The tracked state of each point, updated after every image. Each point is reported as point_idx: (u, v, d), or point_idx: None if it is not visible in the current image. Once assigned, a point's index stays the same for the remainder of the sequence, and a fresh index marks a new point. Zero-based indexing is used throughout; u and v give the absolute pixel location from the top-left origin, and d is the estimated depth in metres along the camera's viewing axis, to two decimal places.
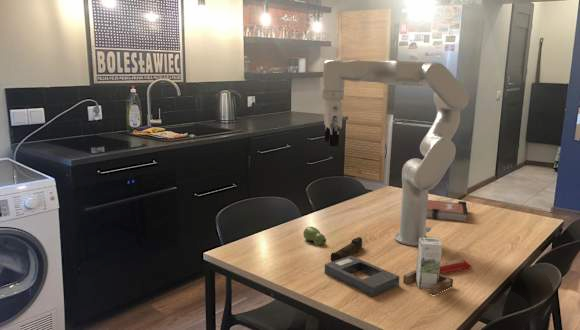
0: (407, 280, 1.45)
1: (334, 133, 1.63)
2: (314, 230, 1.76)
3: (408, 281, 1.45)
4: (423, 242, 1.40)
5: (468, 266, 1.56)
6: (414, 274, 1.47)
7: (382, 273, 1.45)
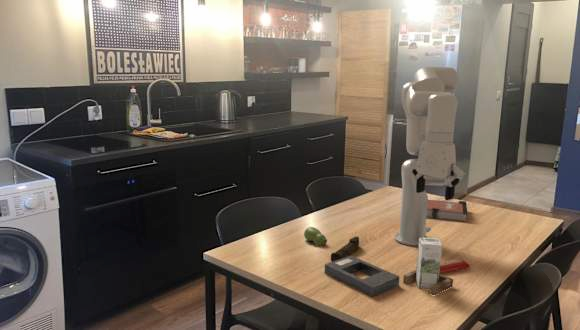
0: (407, 280, 1.45)
1: None
2: (315, 230, 1.76)
3: (408, 281, 1.45)
4: (423, 242, 1.40)
5: (467, 266, 1.56)
6: (414, 274, 1.47)
7: (382, 273, 1.45)
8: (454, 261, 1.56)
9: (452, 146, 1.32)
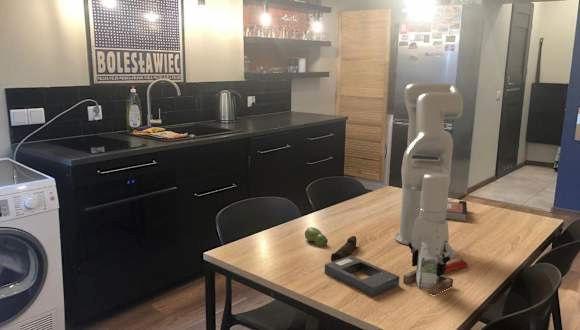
0: (407, 280, 1.45)
1: None
2: (315, 231, 1.75)
3: (408, 281, 1.45)
4: (423, 242, 1.40)
5: (465, 264, 1.57)
6: (414, 274, 1.47)
7: (382, 273, 1.45)
8: (453, 260, 1.56)
9: (445, 224, 1.36)
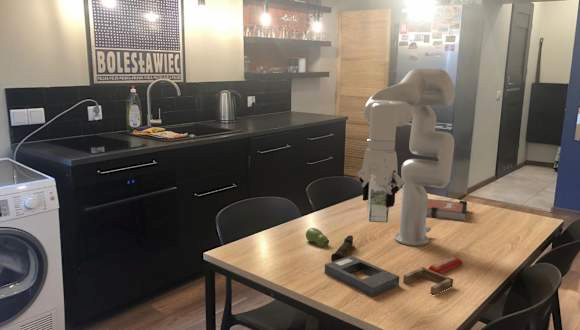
0: (407, 280, 1.45)
1: None
2: (317, 231, 1.75)
3: (408, 281, 1.45)
4: None
5: (461, 262, 1.59)
6: (414, 274, 1.47)
7: (382, 273, 1.45)
8: (450, 259, 1.57)
9: (393, 154, 1.35)
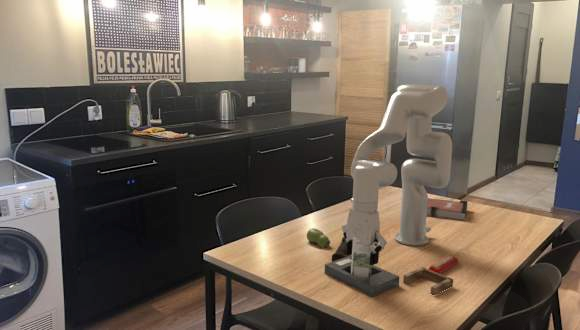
0: (407, 280, 1.45)
1: None
2: (318, 232, 1.74)
3: (408, 281, 1.45)
4: (355, 237, 1.43)
5: (457, 261, 1.60)
6: (414, 274, 1.47)
7: (382, 273, 1.45)
8: (447, 258, 1.58)
9: (375, 215, 1.39)
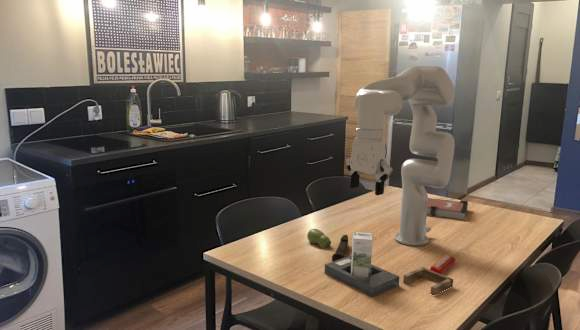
0: (407, 280, 1.45)
1: None
2: (318, 232, 1.74)
3: (408, 281, 1.45)
4: (355, 237, 1.43)
5: (454, 260, 1.61)
6: (414, 274, 1.47)
7: (382, 273, 1.45)
8: (445, 258, 1.58)
9: (381, 142, 1.35)
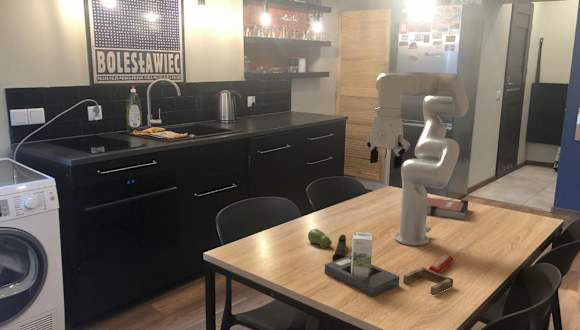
0: (407, 280, 1.45)
1: None
2: (319, 232, 1.74)
3: (408, 281, 1.45)
4: (355, 237, 1.43)
5: (453, 259, 1.61)
6: (414, 274, 1.47)
7: (382, 273, 1.45)
8: (444, 258, 1.59)
9: (399, 120, 1.48)
